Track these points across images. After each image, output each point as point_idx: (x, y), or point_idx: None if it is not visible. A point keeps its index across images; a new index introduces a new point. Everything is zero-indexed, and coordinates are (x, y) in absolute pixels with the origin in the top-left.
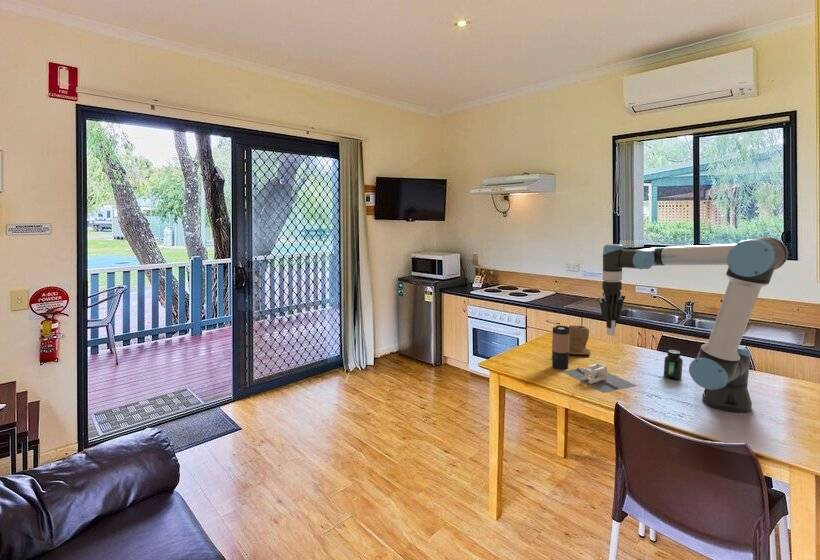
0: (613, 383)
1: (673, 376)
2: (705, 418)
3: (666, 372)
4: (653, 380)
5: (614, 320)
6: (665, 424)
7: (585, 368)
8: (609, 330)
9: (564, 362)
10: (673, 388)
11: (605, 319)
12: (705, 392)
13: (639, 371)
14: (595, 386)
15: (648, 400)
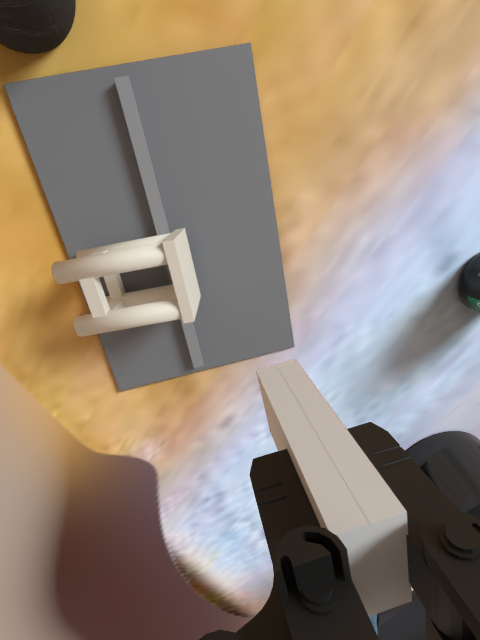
0: (214, 311)
1: (475, 309)
2: None
3: (476, 291)
4: (396, 295)
5: (408, 594)
6: (193, 569)
7: (76, 279)
8: (276, 434)
9: (8, 34)
10: (399, 372)
11: (286, 551)
12: (425, 470)
13: (425, 184)
14: (115, 331)
15: (249, 449)
